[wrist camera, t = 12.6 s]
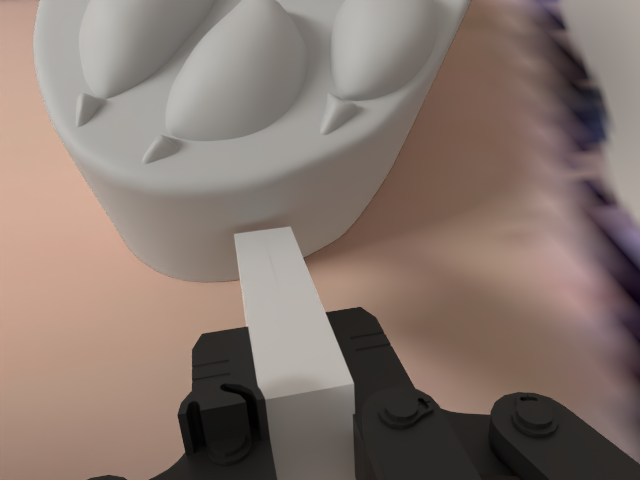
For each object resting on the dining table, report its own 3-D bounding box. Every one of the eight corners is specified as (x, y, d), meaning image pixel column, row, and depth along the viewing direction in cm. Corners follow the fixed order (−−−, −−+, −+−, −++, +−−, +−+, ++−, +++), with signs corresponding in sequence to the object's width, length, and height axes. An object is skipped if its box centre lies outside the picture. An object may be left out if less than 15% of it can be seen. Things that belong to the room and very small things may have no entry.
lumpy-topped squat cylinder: (446, 78, 23) (548, -122, 15) (281, 347, 18) (300, 268, 10) (234, -37, 24) (223, -282, 16) (28, 192, 19) (-137, 9, 11)
